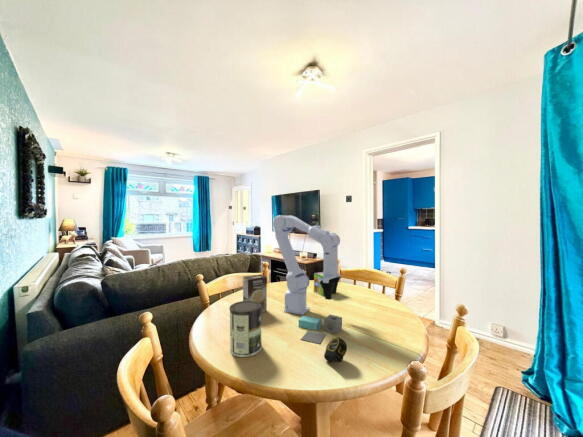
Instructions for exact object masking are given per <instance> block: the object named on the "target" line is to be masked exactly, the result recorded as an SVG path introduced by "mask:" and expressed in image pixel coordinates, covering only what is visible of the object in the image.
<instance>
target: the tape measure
mask: <svg viewBox="0 0 583 437" xmlns="http://www.w3.org/2000/svg"><path fill="white" fill-rule="evenodd" d="M347 345H348V344H347V343H346V341H345V340H344V339H343V338H341V337H339V336H338V337H337V336H334V337H333V338H331V340H330V341H329V342H328V343H327V345H326V348H325V351H324V355H323V356H324V357H323V358H324V359H325V361H328V362H337V363H342V362H343V361H344V356H345V355H346V353H347V349H348V346H347Z"/></svg>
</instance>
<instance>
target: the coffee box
mask: <svg viewBox="0 0 583 437" xmlns="http://www.w3.org/2000/svg"><path fill="white" fill-rule="evenodd" d="M242 279H243V282H242V286H243V287H242V297H243V298H242V301H256V302H259V303H261V313H264V312H267V308H268V307H267V305H268V304H267V303H268V300H267V298H268V297H267V296H268V295H267V294H268V293H267V290H268V287H267V285H268V283H267V282H268V280H267V279H268V277H267V276H266V275H263V274H254V275H253V274H252V275H245V276H242Z"/></svg>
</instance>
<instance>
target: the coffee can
mask: <svg viewBox="0 0 583 437" xmlns="http://www.w3.org/2000/svg"><path fill="white" fill-rule="evenodd" d="M228 308H229V324H230V325H229V329H230V330H229V331H230V332H229V336H230V338H229V339H230V342H229V344H230V345H229V346H230V347H229V348H230V349H229V351H230V353H231V355H232V356H234V357H237V358H249V357H252V356H255V355H257V354H258V353H260V352H261V351H262V345H263V344H262V312H261V303H259V302H256V301H243V300H241V301H236V302H234V303H232V304H230V305H229V307H228Z"/></svg>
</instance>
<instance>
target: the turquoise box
mask: <svg viewBox="0 0 583 437" xmlns="http://www.w3.org/2000/svg"><path fill="white" fill-rule="evenodd" d="M322 321H323V319H322V318H317V317H314V316H313V317H312V316H306V315H302V316H301V317H300V318H299V319H298V328H304V329H307V330H308V329H309V330H312V331H313V330H314V331H317V332H318V331H319V330H320V329H321V328H322V326H323V322H322Z"/></svg>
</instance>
